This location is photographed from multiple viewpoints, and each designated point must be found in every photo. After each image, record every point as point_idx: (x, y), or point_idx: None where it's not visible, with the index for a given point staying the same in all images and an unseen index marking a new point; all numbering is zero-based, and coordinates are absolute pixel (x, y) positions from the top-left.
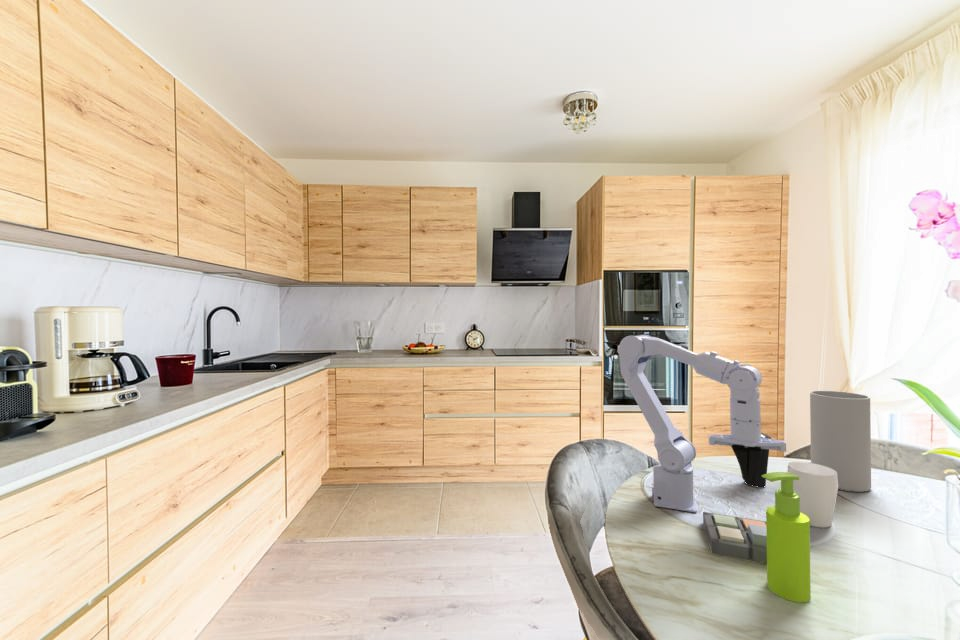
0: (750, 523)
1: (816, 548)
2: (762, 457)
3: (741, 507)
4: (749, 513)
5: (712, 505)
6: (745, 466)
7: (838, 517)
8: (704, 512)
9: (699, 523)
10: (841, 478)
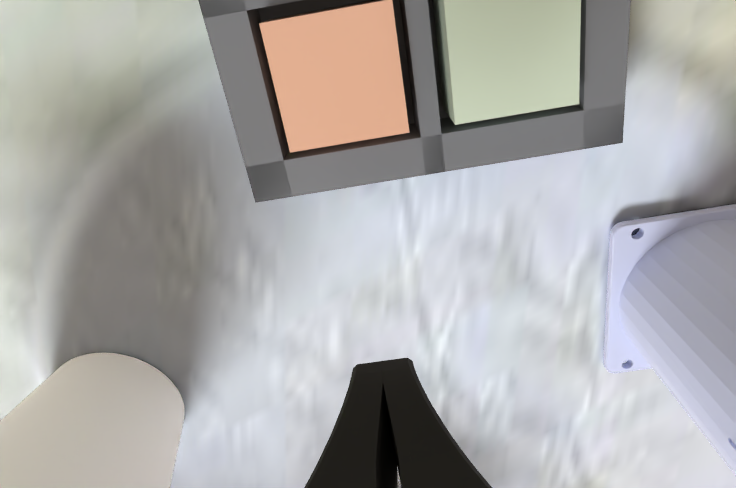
0: (365, 79)
1: (75, 130)
2: None
3: None
4: (359, 347)
5: (517, 349)
6: (413, 459)
7: None
8: (616, 134)
9: None
10: None
